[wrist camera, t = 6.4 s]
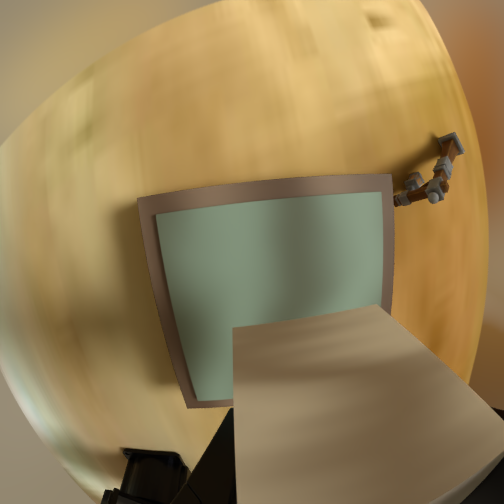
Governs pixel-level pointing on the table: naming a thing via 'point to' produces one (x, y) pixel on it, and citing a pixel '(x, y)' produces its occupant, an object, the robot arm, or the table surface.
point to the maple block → (354, 415)
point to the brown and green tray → (262, 263)
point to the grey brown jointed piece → (439, 182)
